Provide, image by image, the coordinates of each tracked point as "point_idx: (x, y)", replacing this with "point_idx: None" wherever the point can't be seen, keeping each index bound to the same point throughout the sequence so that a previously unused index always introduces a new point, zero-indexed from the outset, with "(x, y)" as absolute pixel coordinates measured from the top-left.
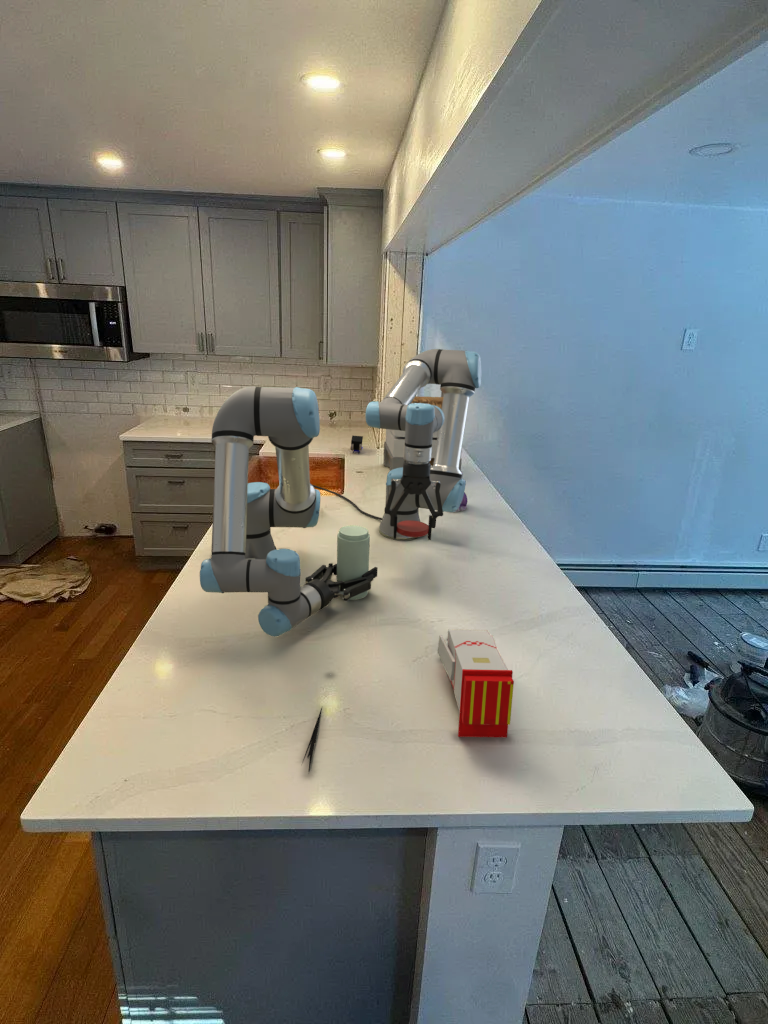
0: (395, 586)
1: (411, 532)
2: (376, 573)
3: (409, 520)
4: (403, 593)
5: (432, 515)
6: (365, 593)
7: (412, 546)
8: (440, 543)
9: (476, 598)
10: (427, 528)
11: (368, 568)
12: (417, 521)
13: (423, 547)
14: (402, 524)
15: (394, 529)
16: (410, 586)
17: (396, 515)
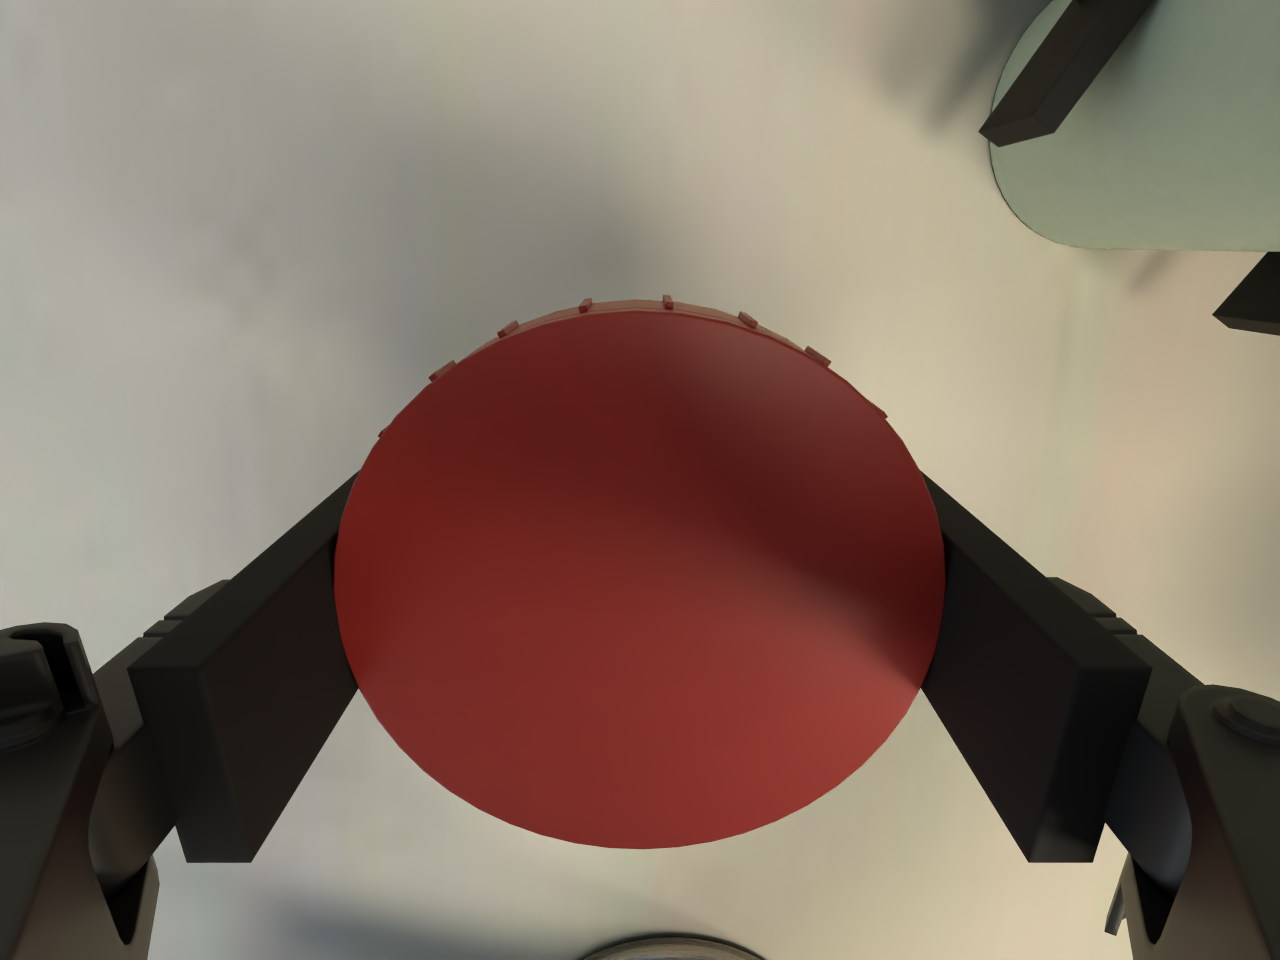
0: (752, 256)
1: (681, 308)
2: (1007, 110)
3: (683, 844)
4: (695, 132)
5: (68, 739)
6: (1035, 29)
7: (599, 868)
8: (415, 919)
9: (92, 91)
10: (354, 531)
11: (1162, 27)
12: (548, 820)
13: (526, 861)
14: (825, 671)
15: (971, 523)
16: (633, 267)
17: (1076, 764)
